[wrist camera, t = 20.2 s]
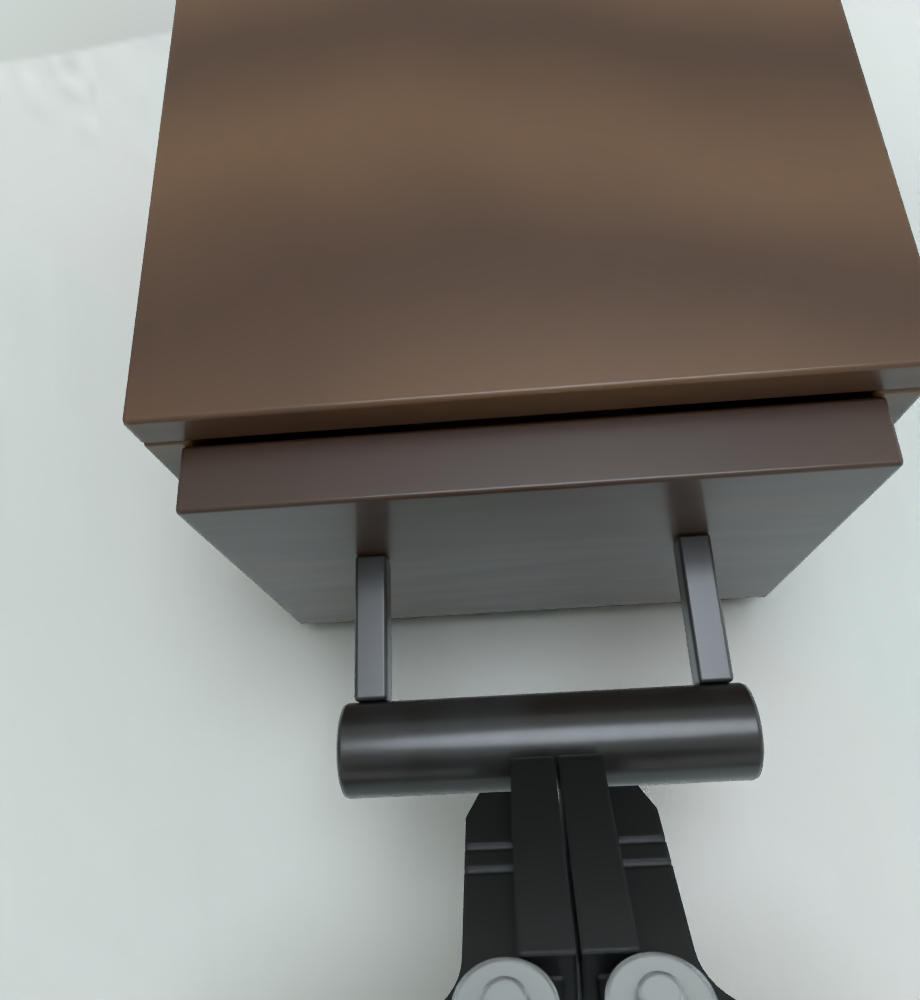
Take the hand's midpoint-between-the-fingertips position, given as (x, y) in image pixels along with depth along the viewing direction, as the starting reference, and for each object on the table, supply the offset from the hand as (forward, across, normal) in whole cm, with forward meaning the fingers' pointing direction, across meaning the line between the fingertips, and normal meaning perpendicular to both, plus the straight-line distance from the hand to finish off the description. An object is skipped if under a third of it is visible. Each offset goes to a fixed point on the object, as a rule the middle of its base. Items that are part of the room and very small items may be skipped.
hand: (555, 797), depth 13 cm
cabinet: (+14, 0, -5) cm, 14 cm away
